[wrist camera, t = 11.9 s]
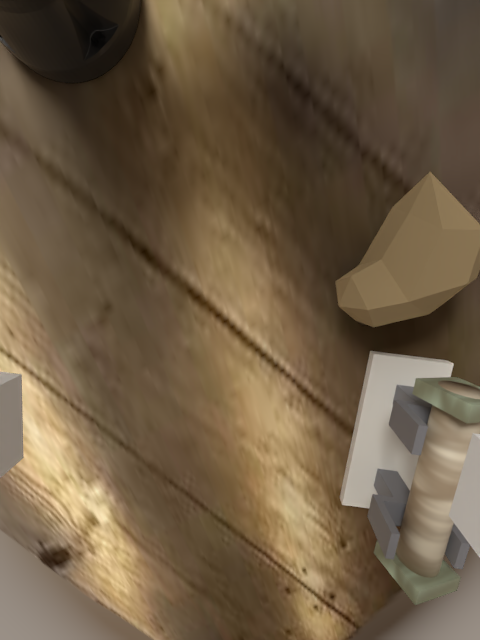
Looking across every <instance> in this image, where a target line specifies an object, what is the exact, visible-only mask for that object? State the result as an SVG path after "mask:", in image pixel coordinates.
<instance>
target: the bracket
mask: <svg viewBox="0 0 480 640" xmlns="http://www.w3.org/2000/svg"><path fill="white" fill-rule="evenodd" d="M453 365H454V364H453V363H451V362H450V361H448V360H440V359H432V358H424V357H416V356H408V355H400V354H392V353H384V352H376V351H370V354H369V359H368V364H367V369H366V373H365V378H364V383H363V388H362V393H361V398H360V402H359V407H358V412H357V417H356V422H355V427H354V431H353V436H352V441H351V446H350V451H349V455H348V460H347V465H346V470H345V475H344V480H343V484H342V489H341V494H340V500H341V503H342V505H347V506H354V507H362V508H369V511H368V516H367V517H368V519H369V521H370V524H371V526H372V528H373V531H374V533H375V535H376V538H377V540H378V542H379V545H380V547H381V550H382V552H383V554H384V557H385V558H387V559H394V557H395V553H396V549H397V545H398V541H399V537H400V533H399V531H398V529H397V527H396V526H401V524H402V520H403V516H404V512H405V509H406V505H407V501H408V497H409V493H410V489H411V485H412V481H413V477H414V474H415V470H416V466H417V462H418V458H419V455H421V452H422V448H423V444H424V441H425V437H426V433H427V429H428V426H427V423H428V419H429V415H430V411H431V407H432V404H430V403H428V402H426V401H424V400H423V399H421V398H419V397H417V396H415V395H413V394H412V393H413V389H414V385H415V380H416V378H440V377H450V376H451V373H452V369H453ZM469 547H470V544H469V543H468V541H467V540H466V538H465V537H464V536H463V534H462V533H461V532H460V530H459V529H458V528H457V526H456V525H455V524H453V527H452V531H451V534H450V537H449V541H448V544H447V548H446V551H445V555H446V556H447V558H448V559H449V561H450V562H451V564H452V566H453V567H454V568H458V569H463V566H464V563H465V560H466V556H467V553H468V550H469Z"/></svg>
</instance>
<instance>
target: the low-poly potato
mask: <svg viewBox="0 0 480 640" xmlns="http://www.w3.org/2000/svg"><path fill="white" fill-rule="evenodd" d="M479 270H480V224H479V223H478V222H477V221H476V220H475V219H474V218H473V217H472V216H471V214H470V213H469V212H468V211H467V210H466V209H465V208H464V207H463V206H462V205H461V204H460V203H459V202H458V201H457V200H456V199H455V197H454V196H453V195H452V194H451V193H450V192H449V191H448V190H447V189H446V188H445V187H444V186H443V185H442V184H441V183H440V181H439V180H438V179H437V178H436V177H435V176H434V175H433V174H432V173H431V172H429V173H428V174H427V175H426V176H425V177H424V178H423V179H422V180H421V181H420V182H418V183H417V184H416V185H415V186H414V187H413V188H412V189H411V190H410V191H409V192H408V193H407V194H406V195H405V196H404V197H403V198H402V199H401V200H399V201H398V202H397V203H396V204H395V205H394V206H393V207H392V209H391V210H390V212H389V214H388V215H387V217H386V219H385V221H384V222H383V224H382V226H381V228H380V229H379V231H378V233H377V234H376V236H375V238H374V240H373V241H372V243H371V245H370V247H369V248H368V250H367V252H366V253H365V255H364V257H363V259H362V260H361V262H360V264H359V266H357V267H356V268H354V269H353V270H351V271H350V272H348V273H347V274H345V275H344V276H342V277H341V278H340V279H338V280H337V281H335V283H336V291H337V298H338V306H339V307H340V308H341V309H342V310H344V311H345V312H346V313H347V314H348V315H349V316H351V317H352V318H353V319H354V320H355V321H357V322H358V323H359V324H361V325H362V326H364V324H366V325H369V326H372V327H377V326H382V325H386V324H390V323H394V322H399V321H403V320H407V319H411V318H416V317H420V316H424V315H428V314H430V313H431V312H433V311H434V310H436V309H437V308H438V307H440V306H441V305H442V304H444V303H445V302H447V301H448V300H449V299H450V298H452V297H453V296H454V295H456V294H457V293H458V292H459V291H461V290H462V289H463V288H465V287H466V286H467V285H468V284H470V283H471V282H472V281H474V280H475V279H476V278H477V276H478V273H479Z"/></svg>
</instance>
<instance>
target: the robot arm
mask: <svg viewBox="0 0 480 640" xmlns="http://www.w3.org/2000/svg"><path fill="white" fill-rule="evenodd" d="M140 6H141V0H0V42H1V43H2V44H3V45H4V46H5V47H6V48H7V49H8V50H9V51H10V52H11V53H12V54H13V55H14V56H16V57H17V58H18V59H19V60H21V61H22V62H23V63H24V64H25V65H27V66H28V67H29V68H30V69H32V70H33V71H35V72H36V73H38V74H40V75H42V76H44V77H46V78H49V79H51V80H55V81H59V82H65V83H78V82H84V81H88V80H92V79H94V78H97V77H99V76H101V75H102V74H104V73H106V72H107V71H109V70H110V69H111V68H112V67H113V66H115V65H116V64H117V63H118V62H119V60H120V59H121V58H122V57H123V55H124V54H125V53H126V51H127V49H128V48H129V46H130V44H131V42H132V40H133V37H134V35H135V32H136V29H137V25H138V21H139V15H140ZM22 458H23V420H22V376H21V374H14V373H7V372H0V478H1V477H2V476H3V475H4V474H5V473H6V472H8V471H9V470H10V469H11V468H12V467H13V466H14V465H16V464H17V463H18V462H19V461H20V460H21V459H22ZM449 517H450V518H451V519H452V521H453V522H454V524H455V525H456V526H457V528H458V529H459V530H460V532H461V533H462V534H463V536H464V537H465V538H466V540H467V541H468V543H469V544H470V545H471V547H472V548H473V549H474V551H475V552H476V553H477V555H478V556H479V557H480V434H475V433H473V434H472V437H471V440H470V444H469V447H468V451H467V454H466V458H465V461H464V465H463V468H462V471H461V475H460V478H459V482H458V485H457V489H456V492H455V496H454V499H453V502H452V506H451V509H450V513H449Z"/></svg>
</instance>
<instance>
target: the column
mask: <svg viewBox="0 0 480 640" xmlns="http://www.w3.org/2000/svg"><path fill="white" fill-rule="evenodd" d="M412 394H413V395H415V396H417V397H419V398H421V399H423V400H424V401H426V402H428V403H430V404H432V407H431V411H430V415H429V419H428V423H427V426H428V429H427V433H426V437H425V441H424V444H423V448H422V452H421V455H419V458H418V462H417V466H416V470H415V474H414V477H413V481H412V485H411V489H410V493H409V497H408V501H407V505H406V509H405V512H404V516H403V520H402V524H401V528H400V532H399V533H400V537H399V541H398V545H397V549H396V553H395V557H394V559H387V558H385V557H384V554H383V552H382V550H381V547H380V545H379V542H378V541H377V542H376V546H375V550H374V554H375V555H376V557H377V558H378V559H379V560H380V562H381V563H382V564H383V565H384V567H385V568H386V569H387V571H388V572H389V573H390V574H391V576H392V577H393V578H394V579H395V581H396V582H397V583H398V584H399V586H400V587H401V588H402V589H403V591H404V592H405V593H406V594H407V596H408V597H409V598H410V599H411V601H412V602H413V603H414V604H415V605H418V604H420V603H423V602H426V601H429V600H432V599H435V598H438V597H440V596H443V595H446V594H449V593H452V592H455V591H457V588H458V585H459V582H460V579H461V577H460V576H459V575H458V574H457V573H456V572H455V571H454V570H453V569H452V568H451V567H450V566H449V565H448V564H447V563H446V562H445V561H444V560H443V558H444V554H445V551H446V548H447V544H448V541H449V537H450V534H451V531H452V527H453V524H454V522H453V521H452V519H451V518H450V517H449V513H450V509H451V506H452V502H453V499H454V496H455V492H456V489H457V485H458V482H459V478H460V475H461V471H462V468H463V465H464V461H465V458H466V454H467V451H468V447H469V444H470V440H471V437H472V434H473V433H475V434H480V387H479V386H477V385H474V384H472V383H470V382H467V381H465V380H462V379H460V378H458V377H440V378H416V380H415V385H414V389H413V393H412Z"/></svg>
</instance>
